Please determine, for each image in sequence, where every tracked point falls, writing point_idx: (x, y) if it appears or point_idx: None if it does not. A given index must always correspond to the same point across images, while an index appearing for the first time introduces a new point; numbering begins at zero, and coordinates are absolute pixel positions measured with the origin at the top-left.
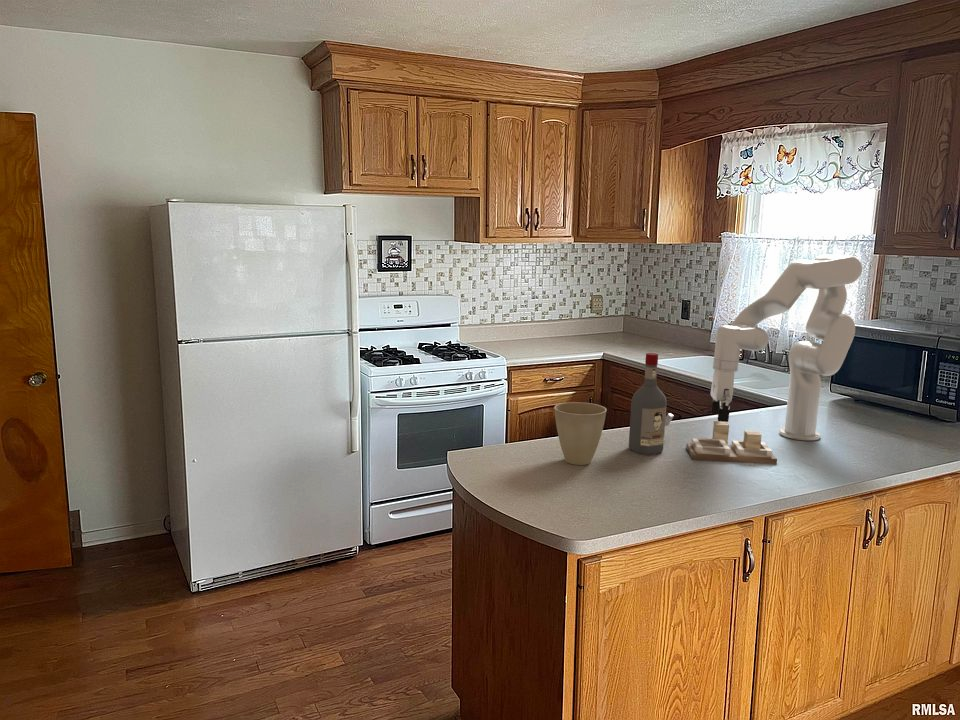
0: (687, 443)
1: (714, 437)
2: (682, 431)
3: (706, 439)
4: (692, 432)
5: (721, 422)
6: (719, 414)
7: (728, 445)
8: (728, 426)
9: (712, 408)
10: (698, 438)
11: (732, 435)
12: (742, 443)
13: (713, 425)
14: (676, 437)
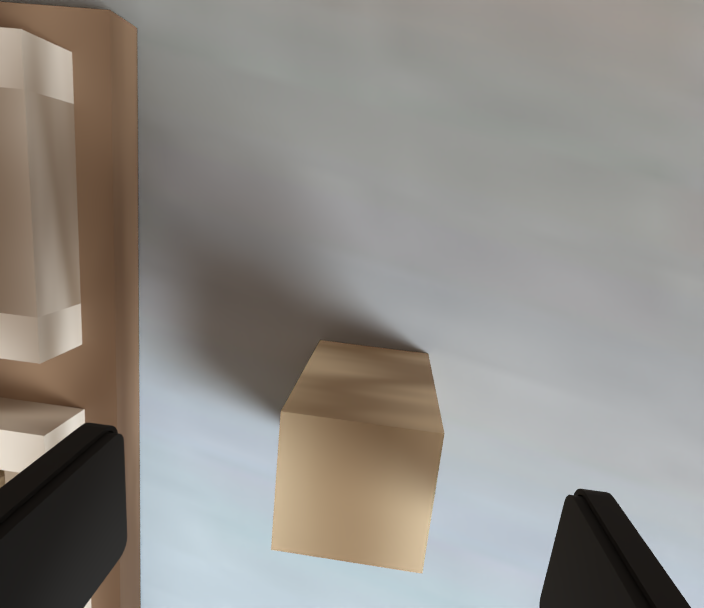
0: (90, 13)
1: (342, 355)
2: (696, 130)
3: (4, 188)
4: (650, 230)
5: (385, 506)
6: (11, 496)
7: (100, 393)
8: (277, 532)
9: (618, 552)
10: (17, 104)
11: (538, 551)
12: None
13: (434, 407)
14: (469, 3)
